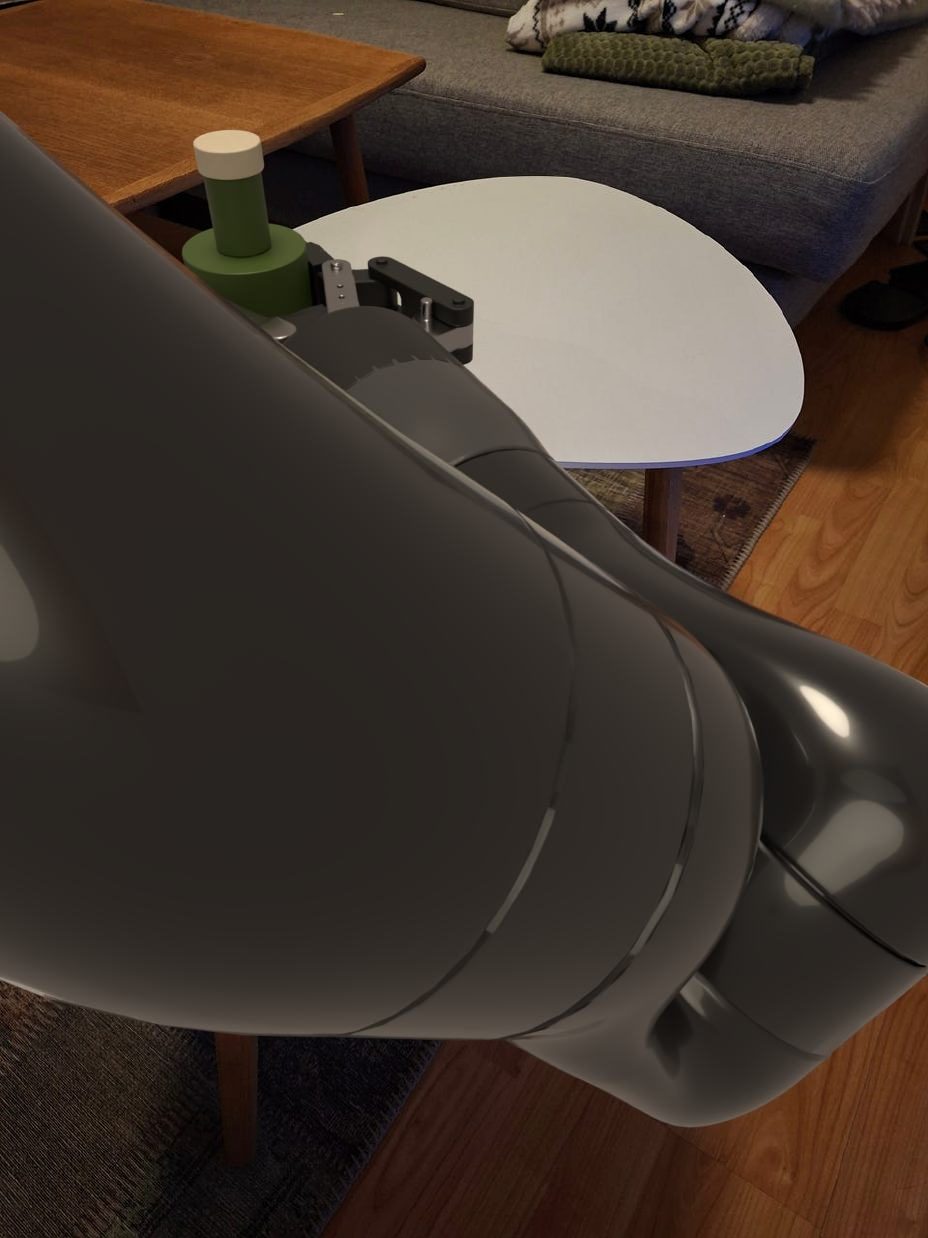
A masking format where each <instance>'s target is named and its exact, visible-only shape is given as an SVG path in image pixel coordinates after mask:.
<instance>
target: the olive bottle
mask: <svg viewBox="0 0 928 1238" xmlns="http://www.w3.org/2000/svg"><path fill="white" fill-rule="evenodd" d="M192 146H193V151H194V156H195V162H196V166H197V167H196V168H197V172H198V173H199V174H200V175H202V178H203V182H204V187H205V194H206V198H207V204H208V209H209V215H210V219H211V224H212V228H209V229H206V230H203V231H201V232H199V233H197V234H195V235H194V236H192V237H191V238H189V239H188V240H187V241H186V242H185V243H184V244H183V247H182V250H181V257H182V260H183V265H184V266H186V267H187V268H188V269H189V270H191V271H192V272H193V273H194V274H195V275H197V276H198V277H199V278H200V279H202V280H203V281H204V282H205V283H207V284H208V285H209V286H210V287H212V288H213V289H214V290H215V291H216V292H218V293H219V294H220V295H221V296H223V297H224V298H225V299H226V300H229V301H231V302H233V303H236V304H238V305H240V306H242V307H244V308H246V309H249V310H251V311H253V312H255V313H257V314H259V315H261V316H264V317H266V318H269V317H278V316H286V315H290V314H292V313H295V312H297V311H300V310H302V309H305V308H309V307H313V300H312V291H311V283H310V274H309V265H308V257H307V248H306V242H307V241H306V240H305V238H304V237H303V236H302V234H301V233H299V232H298V231H296V230H295V229H292V228H289V227H287V226H283V225H279V224H275V223H269V217H268V210H267V202H266V196H265V189H264V181H263V176H262V175H263V174H262V171H263V170H264V167H265V162H264V155H263V147H262V140H261V138H260V136H259V135H257V134H255V133H253V132H251V131H246V130H241V129H240V130H238V129H223V130H215V131H209V132H207V133H203V134H201V135H199V136H197V137H196V138H195V139H194V140H193V143H192ZM305 241H306V242H305Z"/></svg>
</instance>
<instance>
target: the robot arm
mask: <svg viewBox="0 0 928 1238" xmlns="http://www.w3.org/2000/svg"><path fill="white" fill-rule="evenodd" d="M305 242H306V248H307V257H308V265H309V274H310V283H311V291H312V300H313V307H309V308H305V309H302V310H300V311H297V312H295V313H292V314H290V315H286V316H278V317H269V318H266V317H264V316H261V315H259V314H257V313H255V312H253V311H251V310H249V309H246V308H244V307H242V306H240V305H238V304H236V303H233V302H231V301H229V300H226V299H225V298H224V297H223V296H221V295H220V294H219V293H218V292H216V291H215V290H214V289H213V288H212V287H210V286H209V285H208V284H207V283H205V282H204V281H203V280H202V279H200V278H199V277H198V276H197V275H195V274H194V273H193V272H192V271H191V270H189V269H188V268H187V267H186V266H185V265H184V263H182V262H181V261H179V259H177V258H176V257H175V256H174V255H172V254H171V253H169V252H168V250H166V249H165V248H163V246H161V245H160V244H159V243H157V242H156V241H155V240H153V239H152V238H151V237H150V236H149V235H147V234H146V233H145V232H144V231H143V230H141V229H140V228H139V227H138V226H137V225H135V224H134V223H133V222H131V221H130V220H129V219H128V218H127V217H125V215H123V214H122V213H121V212H120V211H118V209H116V208H115V207H114V206H113V205H112V204H110V203H109V202H108V201H107V200H106V199H104V198H103V197H102V196H101V195H100V194H99V193H97V192H96V191H95V190H94V189H93V188H92V187H90V186H89V185H88V184H87V183H86V182H84V181H83V180H82V179H81V178H80V177H78V176H77V175H76V174H75V173H74V172H73V171H71V169H69V167H67V166H66V165H65V164H64V163H62V162H61V161H60V160H59V159H58V158H57V157H55V156H54V155H53V154H52V153H50V151H48V150H47V149H46V148H45V147H44V146H42V145H41V144H40V143H39V142H38V141H36V140H35V139H34V138H33V137H32V136H31V135H30V134H28V132H26V131H25V130H23V129H22V128H21V127H20V126H19V124H16V123H15V122H14V121H13V120H12V119H11V118H10V117H8V116H7V115H6V114H5V113H4V112H2V110H0V981H2V982H4V983H7V984H10V985H13V986H14V987H17V988H21V989H22V990H25V991H27V992H30V993H32V994H34V995H35V994H36V995H38V996H40V997H43V998H46V999H48V1000H52V1001H55V1002H59V1003H62V1004H67V1005H70V1006H74V1007H78V1008H82V1009H85V1010H89V1011H94V1012H98V1013H101V1014H105V1015H107V1016H108V1015H109V1016H113V1017H116V1018H120V1019H124V1020H128V1021H134V1022H140V1023H146V1024H153V1025H158V1026H162V1027H163V1026H164V1027H171V1028H180V1029H188V1030H196V1031H205V1032H212V1033H213V1032H214V1033H221V1034H227V1035H228V1034H229V1035H237V1036H251V1037H252V1036H253V1037H254V1036H257V1037H258V1036H259V1037H300V1038H301V1037H303V1038H305V1037H306V1038H307V1037H309V1038H350V1039H354V1038H356V1039H387V1040H388V1039H391V1040H393V1039H394V1040H395V1039H396V1040H426V1041H427V1040H428V1041H431V1040H432V1041H505V1042H506V1043H508V1044H510V1045H512V1046H514V1047H515V1048H518V1049H519V1050H522V1051H523V1052H525V1053H526V1054H527V1053H528V1054H529V1055H531V1056H533V1057H535V1058H536V1059H538V1060H540V1061H542V1062H543V1063H546V1064H547V1065H550V1067H551V1066H552V1067H554V1068H555V1069H557V1070H559V1071H561V1072H563V1073H564V1074H566V1075H569V1076H572V1077H573V1078H576V1079H578V1080H580V1081H582V1082H585V1083H587V1084H589V1085H591V1086H594V1087H595V1088H597V1089H599V1090H601V1091H603V1092H605V1093H606V1094H609V1095H610V1096H613V1097H614V1098H616V1099H618V1100H620V1101H622V1102H623V1103H625V1104H627V1105H628V1106H631V1107H632V1108H634V1109H635V1110H636V1111H639V1112H641V1113H643V1114H645V1115H646V1116H648V1117H651V1118H653V1119H655V1120H657V1121H659V1122H662V1123H664V1124H667V1125H670V1126H673V1127H681V1128H688V1129H691V1128H702V1127H708V1126H713V1125H717V1124H722V1123H724V1122H728V1121H732V1120H734V1119H737V1118H740V1117H742V1116H745V1115H748V1114H749V1113H752V1112H754V1111H756V1110H758V1109H760V1108H762V1107H764V1106H766V1105H767V1104H769V1103H771V1102H773V1101H774V1100H776V1099H778V1098H780V1096H782V1095H784V1094H786V1092H788V1091H789V1090H792V1088H793V1087H795V1086H796V1085H797V1084H799V1083H800V1082H801V1081H803V1079H804V1078H806V1077H807V1076H808V1075H809V1074H811V1073H812V1072H813V1071H814V1070H816V1069H817V1068H818V1067H819V1066H820V1065H821V1064H822V1063H824V1062H825V1061H826V1060H828V1058H830V1057H831V1055H832V1054H833V1053H834V1052H836V1051H837V1050H839V1049H840V1048H841V1047H842V1046H844V1044H846V1043H847V1042H848V1041H849V1040H851V1038H853V1037H854V1036H856V1034H858V1033H859V1032H860V1031H861V1030H862V1029H864V1028H865V1027H866V1026H867V1025H868V1024H870V1023H871V1022H872V1021H873V1020H874V1019H876V1018H877V1017H878V1016H879V1015H880V1014H881V1013H882V1012H884V1011H885V1010H886V1009H888V1008H889V1007H890V1006H891V1005H892V1004H894V1003H895V1002H897V1000H898V999H899V998H901V997H902V996H904V994H905V993H907V992H908V991H909V990H910V989H911V988H912V987H914V986H915V985H916V984H917V983H918V982H920V981H921V980H922V979H923V978H925V977H926V976H927V975H928V685H926V684H925V683H924V682H921V681H920V680H918V679H916V678H914V677H913V676H910V675H909V674H907V673H905V672H902V671H900V670H899V669H897V668H895V667H893V666H891V665H889V664H887V663H885V662H883V661H881V660H880V659H877V658H876V657H873V656H872V655H870V654H867V653H865V652H863V651H860V650H858V649H856V648H854V647H852V646H849V645H847V644H844V643H843V642H840V641H838V640H836V639H834V638H831V637H829V636H826V635H825V634H821V633H819V632H817V631H814V630H813V629H811V628H807V627H805V626H803V625H801V624H798V623H795V622H793V621H791V620H789V619H787V618H784V617H782V616H779V615H777V614H775V613H772V612H770V611H768V610H765V609H763V608H761V607H759V606H758V605H755V604H753V603H750V602H748V601H747V600H744V599H742V598H740V597H738V596H736V595H733V594H732V593H729V592H727V591H726V590H723V589H722V588H720V587H718V586H716V585H715V584H712V583H710V582H709V581H707V580H705V579H703V578H702V577H699V576H698V575H696V574H694V573H692V572H691V571H689V570H687V569H685V568H684V567H682V566H680V565H679V564H677V563H676V562H674V560H672V559H670V558H669V557H667V556H666V555H665V554H664V553H662V552H660V551H659V550H658V549H656V548H655V547H653V546H652V545H650V543H648V542H647V541H645V540H644V539H642V538H641V537H640V536H639V535H638V534H637V533H635V532H634V531H633V530H632V529H631V528H629V526H627V525H626V523H624V522H623V521H622V520H620V519H619V518H618V517H617V516H616V515H614V514H613V513H612V512H611V511H610V510H609V509H608V508H607V507H606V506H605V505H604V504H603V503H602V502H600V501H599V500H598V499H597V498H596V497H595V496H594V495H593V494H592V493H590V492H589V490H588V489H586V488H585V487H584V486H583V485H582V484H581V483H580V482H579V481H578V480H577V479H576V478H574V477H573V476H572V475H571V474H570V473H569V472H568V471H567V470H566V469H565V468H563V466H561V465H560V464H559V463H558V462H557V461H556V460H555V458H553V457H552V455H550V452H548V451H547V449H546V447H545V446H544V445H543V444H542V442H541V441H540V440H539V437H537V435H536V434H535V433H534V432H533V430H532V429H531V428H530V427H529V426H528V424H527V423H526V422H525V421H524V420H523V419H522V418H521V416H520V415H518V413H517V412H515V411H514V409H513V408H511V407H510V406H509V405H508V404H507V403H506V402H505V401H504V400H502V399H501V398H500V397H499V396H498V395H497V394H496V393H495V392H493V390H492V389H490V387H488V386H487V385H486V384H485V383H484V382H483V381H482V380H480V378H479V377H477V376H476V375H475V373H473V372H472V371H470V369H468V368H467V366H465V365H468V364H470V363H471V362H472V361H473V359H474V325H475V323H474V321H475V320H474V319H475V318H474V317H475V301H474V299H473V298H471V297H470V296H469V295H468V296H467V295H465V294H464V293H461V292H459V291H458V290H456V289H454V288H452V287H450V286H448V285H446V284H444V283H442V282H440V281H438V280H437V279H434V278H432V277H430V276H428V275H426V274H424V273H422V272H420V271H419V270H416V269H415V268H412V267H411V266H409V265H406V264H405V263H403V262H401V261H399V260H396V259H395V258H393V257H390V256H385V255H383V256H382V255H381V256H374V257H372V258H370V259H369V260H368V261H367V268H360V269H359V268H358V269H355V268H352V264H351V262H349V261H348V260H347V259H346V260H345V259H339V258H336V259H335V258H334V257H333V256H332V255H331V254H329V253H328V252H327V250H325V248H323V247H322V246H321V245H320V244H317V243H316V242H312V241H306V240H305ZM399 297H400V304H399Z"/></svg>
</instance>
